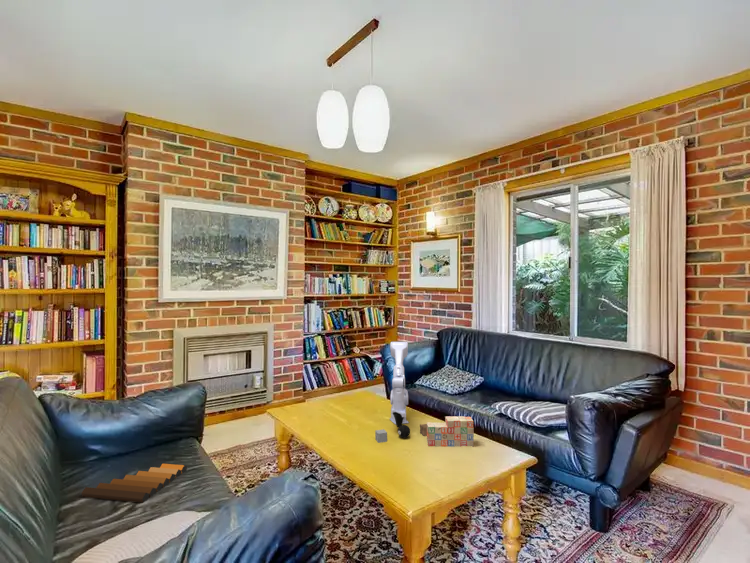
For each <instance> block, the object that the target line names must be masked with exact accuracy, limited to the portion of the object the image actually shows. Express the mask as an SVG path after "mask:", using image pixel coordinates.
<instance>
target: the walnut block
mask: <svg viewBox="0 0 750 563" xmlns="http://www.w3.org/2000/svg"><path fill="white" fill-rule="evenodd" d="M419 433H420V435H421V434H422V435H421V436H422V437H427V423H423V424H419Z"/></svg>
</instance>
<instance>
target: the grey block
mask: <svg viewBox="0 0 750 563" xmlns="http://www.w3.org/2000/svg"><path fill="white" fill-rule="evenodd" d="M374 432H375V440H376V442H377V443H378V444H381V443H386V442H388V432H387V431H386V430H385V428H383V429H376V430H375V431H374Z"/></svg>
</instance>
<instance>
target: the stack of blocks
mask: <svg viewBox="0 0 750 563" xmlns="http://www.w3.org/2000/svg"><path fill="white" fill-rule="evenodd" d="M444 418H445V419H444V420H445V422H426V424H427V436H426V443H427V445H428V447H461V446H472V448H473V447H474V434H475V432H474V429H475V428H474V420H473V419H472V416H464V415H463V416H461V415H459V416H455V415H454V416H444Z"/></svg>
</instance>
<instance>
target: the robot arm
mask: <svg viewBox="0 0 750 563" xmlns="http://www.w3.org/2000/svg"><path fill="white" fill-rule="evenodd" d="M408 344H409V342H408V341H391V342H390V345H389V346H390V348H389V349H390V356H391V357H393V358H394V360H395V365H394V366H393V372H392V374H393V377H392V380H391V383H392V384H391V386H392V389H391V391H390V400H389V401H390V405H391V407H390V417H389V421H391V422H392V423H393V424H394V425H396V428H399V427H400V426H401V425H406V424H409V423H410V422H409V421H408V420H407V406H408V405H409V393H408V392H409V391H408V390H407V389H406V377H405V367H404V360H405V358H407V357H408V355H409V354H408V352H409V348H408V347H409V345H408Z"/></svg>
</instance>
